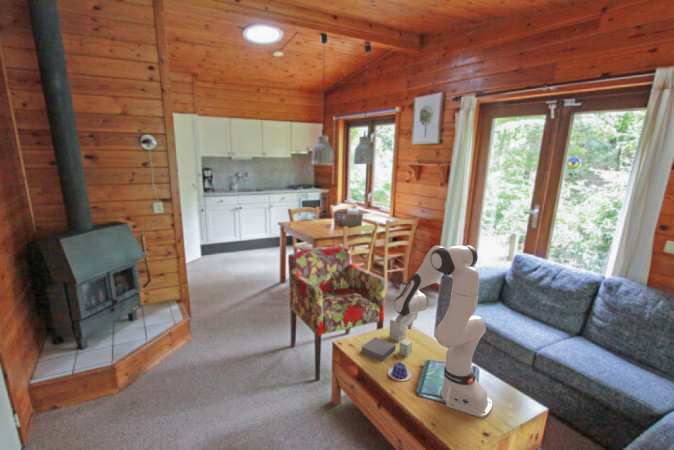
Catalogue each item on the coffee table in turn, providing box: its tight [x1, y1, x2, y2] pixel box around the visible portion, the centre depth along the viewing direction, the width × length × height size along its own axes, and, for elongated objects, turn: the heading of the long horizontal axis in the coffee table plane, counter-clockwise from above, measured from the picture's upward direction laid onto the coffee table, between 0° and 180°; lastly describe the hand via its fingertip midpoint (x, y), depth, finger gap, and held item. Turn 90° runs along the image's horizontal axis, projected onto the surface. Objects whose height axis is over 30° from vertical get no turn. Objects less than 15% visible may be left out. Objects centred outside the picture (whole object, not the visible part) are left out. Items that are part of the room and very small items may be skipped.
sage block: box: [398, 338, 413, 358], centre depth 196 cm, size 5×5×7 cm
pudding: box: [387, 362, 412, 382], centre depth 178 cm, size 12×12×5 cm
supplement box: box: [389, 315, 407, 343], centre depth 212 cm, size 7×7×13 cm
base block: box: [361, 336, 396, 362], centre depth 199 cm, size 14×14×4 cm
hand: (405, 332), depth 195 cm, fingers open, 8 cm apart
